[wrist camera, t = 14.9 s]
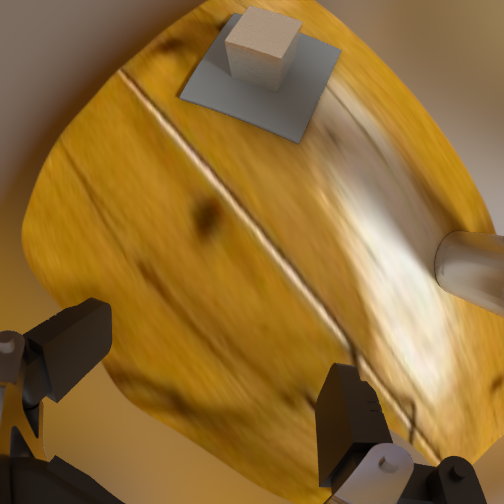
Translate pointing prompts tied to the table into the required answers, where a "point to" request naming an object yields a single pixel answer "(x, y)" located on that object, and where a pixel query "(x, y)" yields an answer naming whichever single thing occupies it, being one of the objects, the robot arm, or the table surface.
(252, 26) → the block
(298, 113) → the mat
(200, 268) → the table surface
